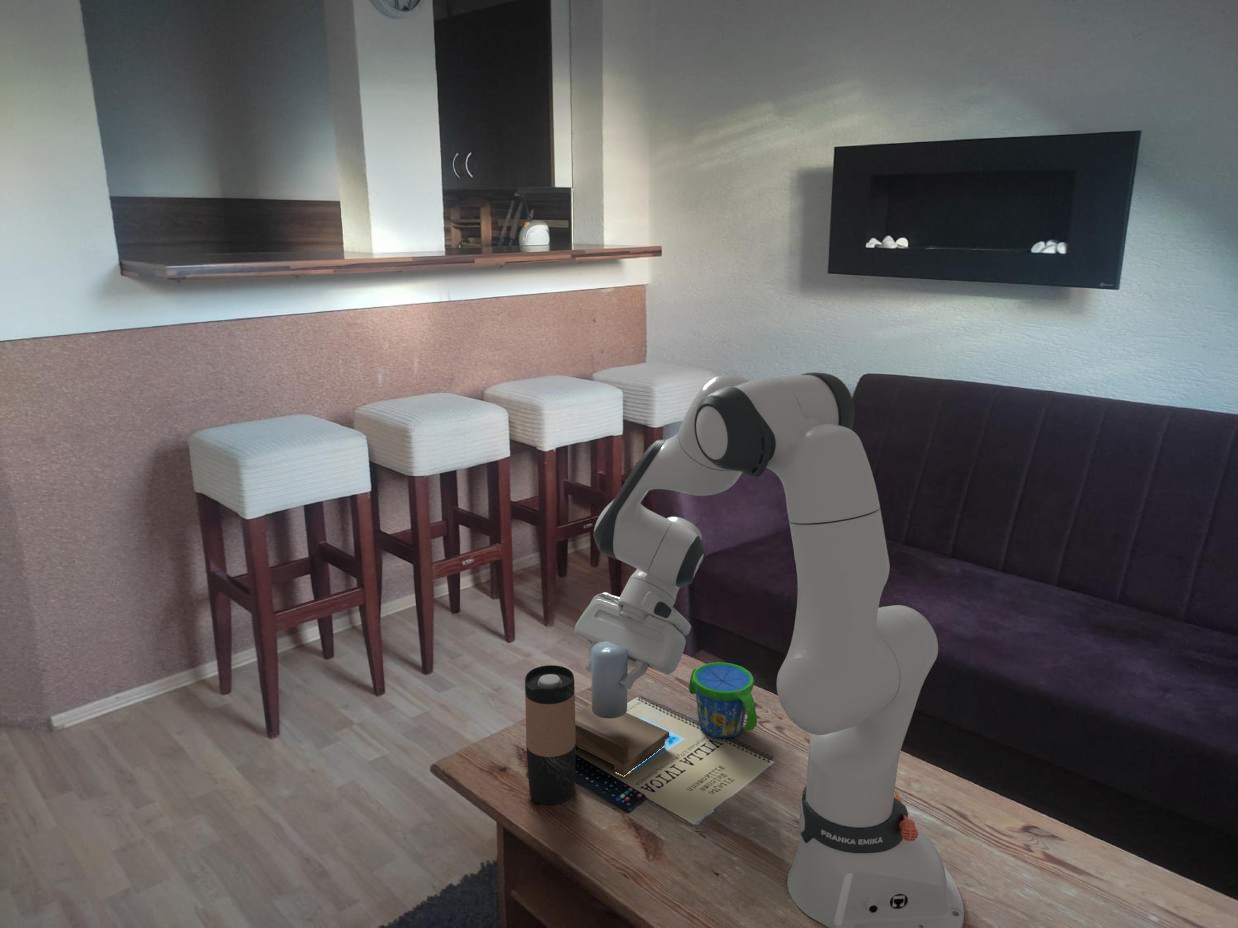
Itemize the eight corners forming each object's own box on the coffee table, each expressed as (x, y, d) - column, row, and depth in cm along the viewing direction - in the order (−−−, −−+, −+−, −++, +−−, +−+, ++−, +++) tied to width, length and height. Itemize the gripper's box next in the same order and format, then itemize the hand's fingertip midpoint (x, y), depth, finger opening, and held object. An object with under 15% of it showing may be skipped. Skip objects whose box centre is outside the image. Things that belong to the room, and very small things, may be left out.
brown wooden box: (597, 714, 162) (597, 684, 160) (668, 747, 152) (669, 715, 150) (551, 743, 153) (551, 712, 151) (624, 780, 143) (624, 747, 142)
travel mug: (579, 777, 144) (578, 665, 138) (572, 807, 137) (570, 691, 131) (532, 774, 145) (529, 663, 139) (523, 804, 137) (519, 688, 132)
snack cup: (772, 742, 154) (775, 689, 151) (721, 759, 149) (723, 705, 146) (720, 699, 167) (722, 650, 164) (672, 714, 162) (673, 663, 159)
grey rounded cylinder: (628, 699, 153) (629, 641, 150) (625, 719, 148) (626, 659, 144) (593, 698, 154) (593, 640, 151) (589, 717, 148) (589, 657, 145)
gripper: (590, 581, 157) (552, 652, 153) (684, 615, 145) (647, 692, 140) (606, 596, 162) (570, 665, 157) (699, 630, 149) (663, 706, 145)
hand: (607, 679), depth 149 cm, fingers closed on grey rounded cylinder, 6 cm apart
